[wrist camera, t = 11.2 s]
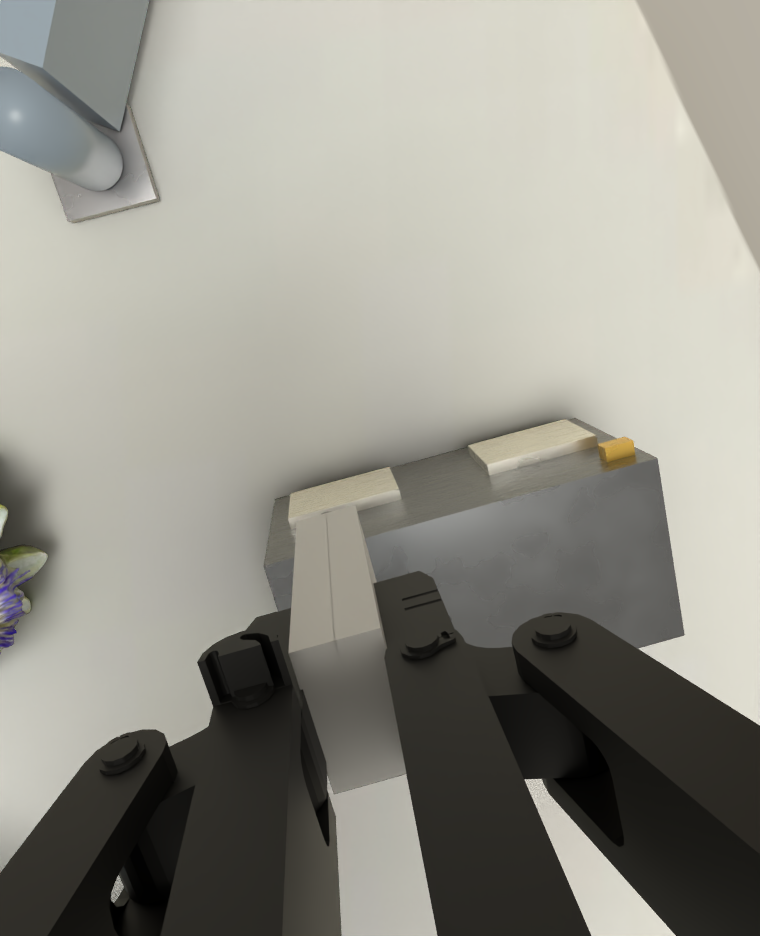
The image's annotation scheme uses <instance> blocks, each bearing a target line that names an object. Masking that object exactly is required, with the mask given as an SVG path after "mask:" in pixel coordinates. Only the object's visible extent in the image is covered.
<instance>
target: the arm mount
mask: <svg viewBox="0 0 760 936" xmlns="http://www.w3.org/2000/svg"><path fill="white" fill-rule="evenodd" d="M87 121H88V120H87ZM88 122H89V123H91V124H92V125H93V126H95V127H96V128H97V129H99V130H100V131H101V132H103V133H104V134H105V135H107V136H108V137H109V138H111V139H112V140H113V141H114V142H115V144H116V145H117V146H118V148H119V150H120V152H121V155H122V159H123V169H122V173H121V176H120V178H119V180H118V181H117V182H116V183H115V184H114V185H113V186H112V187H110V188H108V189H106V190H102V191H92V190H88V189H86V188H83V187H81V186H79V185H77V184H74V183H72V182H70V181H68V180H65V179H63V178H61V177H59V176H56V175H54V174H52V173H51V175H52V178H53V181H54V183H55V186H56V189H57V192H58V195H59V198H60V200H61V203H62V206H63V209H64V212H65V215H66V218H67V220H68V221H69V222H72V223H77V222H81V221H85V220H88V219H92V218H96V217H100V216H104V215H108V214H112V213H116V212H120V211H123V210H127V209H131V208H135V207H139V206H143V205H147V204H151V203H154V202H158V201H160V199H159V195H158V192H157V189H156V186H155V183H154V180H153V176H152V173H151V170H150V167H149V164H148V161H147V157H146V154H145V151H144V148H143V145H142V142H141V138H140V135H139V132H138V129H137V126H136V123H135V119H134V116H133V113H132V110H131V107H130V106H129V105H128V104H127V103H126V106H125V111H124V115H123V120H122V124H121V129H120V132H119V131H116V130H113V129H111V128H108V127H105V126H102V125H99V124H96V123H94V122H91V121H88Z"/></svg>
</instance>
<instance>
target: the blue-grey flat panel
mask: <svg viewBox="0 0 760 936" xmlns="http://www.w3.org/2000/svg"><path fill="white" fill-rule="evenodd" d="M148 5H149V0H1V1H0V56H1V57H2V58H3V59H5V60H6V61H7V62H9V63H10V64H11V65H13V66H14V67H15V68H17V69H18V70H19V71H18V70H16V69H13V68H9V67H0V150H1V151H3V152H5V153H7V154H10V155H12V156H14V157H16V158H19V159H21V160H23V161H25V162H27V163H30V164H32V165H34V166H36V167H39V168H41V169H43V170H45V171H48V172H50V173H52V174H54V175H56V176H59V177H61V178H63V179H65V180H68V181H70V182H72V183H74V184H77V185H79V186H81V187H83V188H86V189H88V190H92V191H102V190H106V189H108V188H110V187H112V186H113V185H114V184H115V183H116V182H117V181H118V180H119V178H120V176H121V173H122V169H123V159H122V155H121V152H120V150H119V148H118V146H117V145H116V144H115V142H114V141H113V140H112V139H111V138H109V137H108V136H107V135H105V134H104V133H103V132H101V131H100V130H99V129H97V128H96V127H95V126H93V125H92V124H91V123H89V122H88V121H91V122H94V123H96V124H99V125H102V126H105V127H108V128H111V129H113V130H116V131H119V132H120V129H121V124H122V120H123V115H124V111H125V106H126V102H127V98H128V93H129V89H130V84H131V80H132V76H133V71H134V67H135V62H136V58H137V53H138V49H139V45H140V40H141V36H142V31H143V27H144V23H145V18H146V14H147V9H148ZM20 71H21V72H20ZM87 120H88V121H87Z"/></svg>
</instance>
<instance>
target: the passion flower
mask: <svg viewBox="0 0 760 936" xmlns="http://www.w3.org/2000/svg"><path fill="white" fill-rule="evenodd" d="M7 518H8V509H7V508H6V507H5V506H3V505H1V504H0V538H1V537H2V534H3V527H4V525H5V524H6V521H7ZM47 558H48V555H47V554H46V553H45V552H43V551H42V550H40V549H38V548H35V547H33V546H29V545H19V546H15V547H11V548H7V549H3V550H1V551H0V654H1V650H2V649H3V648H5V647H9V646H12V645H13V644H14V639H13V634H15V633H17V632H16V630H15V629H14V627H15V626H16V624H17V622H18V618H19V617H21V616H23V615H24V614H28V613H29V612H30V611H31V604H30V601H29V599H28V598H27V597H25V596H24V592H22V591H21V590H19V589H18V586H19V585H21V584H22V583H24V582H26V581H28V580H29V579H31V578H32V577H33V575H34V574H36V573H37V572H38V571H39V570H40V568H41V567H42V566H43V565H44V564H45V562H46V560H47Z"/></svg>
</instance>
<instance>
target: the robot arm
mask: <svg viewBox="0 0 760 936" xmlns="http://www.w3.org/2000/svg"><path fill="white" fill-rule="evenodd" d="M197 663H198V666H199V668H200V671H201V674H202V677H203V679H204V682H205V685H206V688H207V690H208V693H209V696H210V699H211V701H212V704H213V710H212V715H211V719H210V723H209V726H208V727H207V728H205V729H204V730H202V731H200V732H199V733H197V734H195V735H193V736H191V737H189V738H187V739H185V740H183V741H181V742H179V743H177V744H174V745H172V746H170V747H169V746H168V743H167V741H166V738H165V735H164V734H163V733H161V732H159V731H157V730H139V731H135V732H131V733H130V732H129V733H126V734H123V735H120V737H116V738H114V739H112V740H111V741H109V742H108V743H107V744H106V745H105V746H103V747H102V748H100V749H99V750H97V751H96V752H95V753H94V754H93V755H92V756H91V757H90V758H89V759H88V760H87V761H86V762H85V763H84V764H83V766H82V767H81V768H80V770H79V771H78V772H77V774H76V775H75V776H74V777H73V779H72V780H71V781H70V783H69V784H68V785H67V787H66V788H65V789H64V790H63V792H62V793H61V794H60V796H59V797H58V798H57V800H56V801H55V802H54V804H53V805H52V806H51V807H50V809H49V810H48V811H47V813H46V814H45V815H44V817H43V818H42V819H41V821H40V822H39V823H38V824H37V826H36V827H35V828H34V830H33V831H32V832H31V834H30V835H29V836H28V837H27V839H26V840H25V841H24V843H23V844H22V845H21V847H20V848H19V849H18V851H17V852H16V853H15V854H14V856H13V857H12V858H11V860H10V861H9V862H8V864H7V865H6V866H5V868H4V869H3V870H2V871H1V873H0V936H341V916H340V896H339V876H338V856H337V836H336V816H335V813H334V810H333V807H332V804H331V801H330V797H329V794H328V791H327V774H328V778H329V781H330V784H331V787H332V790H333V793H334V794H338V793H341V792H345V791H348V790H352V789H355V788H359V787H362V786H366V785H369V784H373V783H376V782H380V781H383V780H387V779H390V778H394V777H398V776H401V775H405V774H407V779H408V784H409V789H410V795H411V800H412V805H413V810H414V815H415V821H416V826H417V831H418V836H419V841H420V847H421V852H422V857H423V862H424V867H425V873H426V878H427V883H428V888H429V893H430V899H431V904H432V909H433V914H434V919H435V925H436V930H437V935H438V936H591V934H590V932H589V929H588V927H587V925H586V922H585V920H584V918H583V915H582V913H581V911H580V908H579V906H578V904H577V901H576V899H575V897H574V894H573V892H572V890H571V887H570V885H569V883H568V880H567V878H566V876H565V873H564V871H563V869H562V866H561V864H560V862H559V860H558V857H557V855H556V853H555V850H554V848H553V846H552V843H551V841H550V839H549V836H548V834H547V832H546V829H545V827H544V825H543V822H542V820H541V818H540V815H539V813H538V811H537V808H536V806H535V804H534V801H533V799H532V797H531V794H530V792H529V790H528V787H527V785H526V783H525V780H524V779H542V780H543V783H544V785H545V787H546V789H547V791H548V793H549V794H550V795H551V796H552V797H553V799H554V800H555V801H556V802H557V803H558V804H559V805H560V806H561V808H562V809H563V810H564V811H565V812H566V813H567V814H568V815H569V816H570V818H571V819H572V820H573V821H574V822H575V823H576V824H577V825H578V827H579V828H580V829H581V830H582V831H583V832H584V833H585V834H586V835H587V837H588V838H589V839H590V840H591V841H592V842H593V843H594V844H595V846H596V847H597V848H598V849H599V850H600V851H601V852H602V853H603V855H604V856H605V857H606V858H607V859H608V860H609V861H610V862H611V863H612V865H613V866H614V867H615V868H616V869H617V870H618V871H619V872H620V874H621V875H622V876H623V877H624V878H625V879H626V880H627V881H628V882H629V884H630V885H631V886H632V887H633V888H634V889H635V890H636V891H637V893H638V894H639V895H640V896H641V897H642V898H643V899H644V900H645V902H646V903H647V904H648V905H649V906H650V907H651V908H652V909H653V910H654V912H655V913H656V914H657V915H658V916H659V917H660V918H661V919H662V921H663V922H664V923H665V924H666V925H667V926H668V927H669V928H670V929H671V931H672V932H673V933H674V934H675V935H676V936H760V725H758V724H756V723H755V722H753V721H752V720H750V719H748V718H747V717H745V716H744V715H742V714H740V713H739V712H737V711H736V710H734V709H732V708H731V707H729V706H728V705H726V704H725V703H723V702H721V701H720V700H718V699H717V698H715V697H713V696H712V695H710V694H709V693H707V692H705V691H704V690H702V689H701V688H699V687H698V686H696V685H694V684H693V683H691V682H690V681H688V680H686V679H685V678H683V677H682V676H680V675H678V674H677V673H675V672H674V671H672V670H671V669H669V668H667V667H666V666H664V665H663V664H661V663H659V662H658V661H656V660H655V659H653V658H651V657H650V656H648V655H647V654H645V653H644V652H642V651H640V650H639V649H637V648H636V647H634V646H632V645H631V644H629V643H628V642H626V641H624V640H623V639H621V638H620V637H618V636H617V635H615V634H613V633H612V632H610V631H609V630H607V629H605V628H604V627H602V626H601V625H599V624H597V623H596V622H594V621H593V620H591V619H589V618H587V617H584V616H581V615H579V614H572V613H563V612H555V613H553V614H552V613H548V614H543V615H542V616H539V617H536V618H532V619H530V620H529V621H527V622H525V623H523V624H522V625H520V626H519V627H518V628H517V630H516V631H515V632H514V633H513V636H512V647H502V648H484V647H476V646H473V645H470V644H467V643H466V642H465V641H464V638H463V636H462V635H461V634H460V633H459V632H458V631H457V630H455V629H454V627H453V624H452V622H451V619H450V617H449V615H448V612H447V610H446V608H445V605H444V603H443V600H442V598H441V596H440V593H439V591H438V589H437V586H436V584H435V582H434V579H433V578H432V577H430V576H429V575H427V574H425V573H423V572H421V571H416V572H413V573H409V574H405V575H402V576H398V577H394V578H391V579H387V580H384V581H380V582H376V578H375V574H374V571H373V567H372V563H371V560H370V556H369V553H368V549H367V545H366V542H365V538H364V534H363V531H362V527H361V524H360V520H359V516H358V513H357V509H356V506H355V505H354V506H350V507H346V508H343V509H339V510H335V511H332V512H328V513H324V514H321V515H317V516H313V517H310V518H306V519H302V520H299V521H297V525H296V541H295V557H294V573H293V588H292V604H291V608H289V609H285V610H282V611H278V612H274V613H271V614H267V615H263V616H260V617H256V618H255V620H254V621H253V622H252V623H251V624H250V626H249V627H248V628H247V629H246V630H245V631H242V632H239V633H237V634H234V635H231V636H228V637H226V638H224V639H222V640H221V641H219V642H217V643H215V644H214V645H212V646H211V647H210V648H209V649H207V650H206V651H205V652H204V653H203V654H202V656H201V657H200V659H199V660H198V662H197ZM118 875H119V876H120V878H121V881H122V883H123V885H124V888H123V890H122V892H121V894H120V896H119V897H118V899H117V900H116V901H115V903H113V902H112V901H111V892H112V889H113V886H114V884H115V881H116V878H117V876H118Z"/></svg>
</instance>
